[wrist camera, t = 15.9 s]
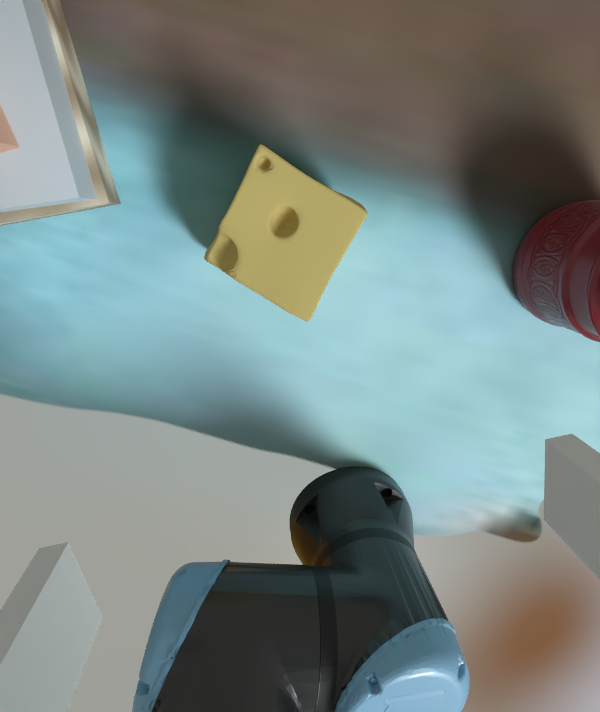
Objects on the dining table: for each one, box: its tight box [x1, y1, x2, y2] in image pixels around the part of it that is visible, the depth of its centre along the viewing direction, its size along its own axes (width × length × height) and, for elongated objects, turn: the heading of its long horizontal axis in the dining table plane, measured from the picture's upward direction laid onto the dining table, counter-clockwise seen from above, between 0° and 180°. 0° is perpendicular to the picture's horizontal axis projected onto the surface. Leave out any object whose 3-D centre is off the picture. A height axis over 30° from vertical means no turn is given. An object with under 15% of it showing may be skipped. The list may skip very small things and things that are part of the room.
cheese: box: [204, 144, 368, 321], centre depth 38 cm, size 10×11×10 cm
